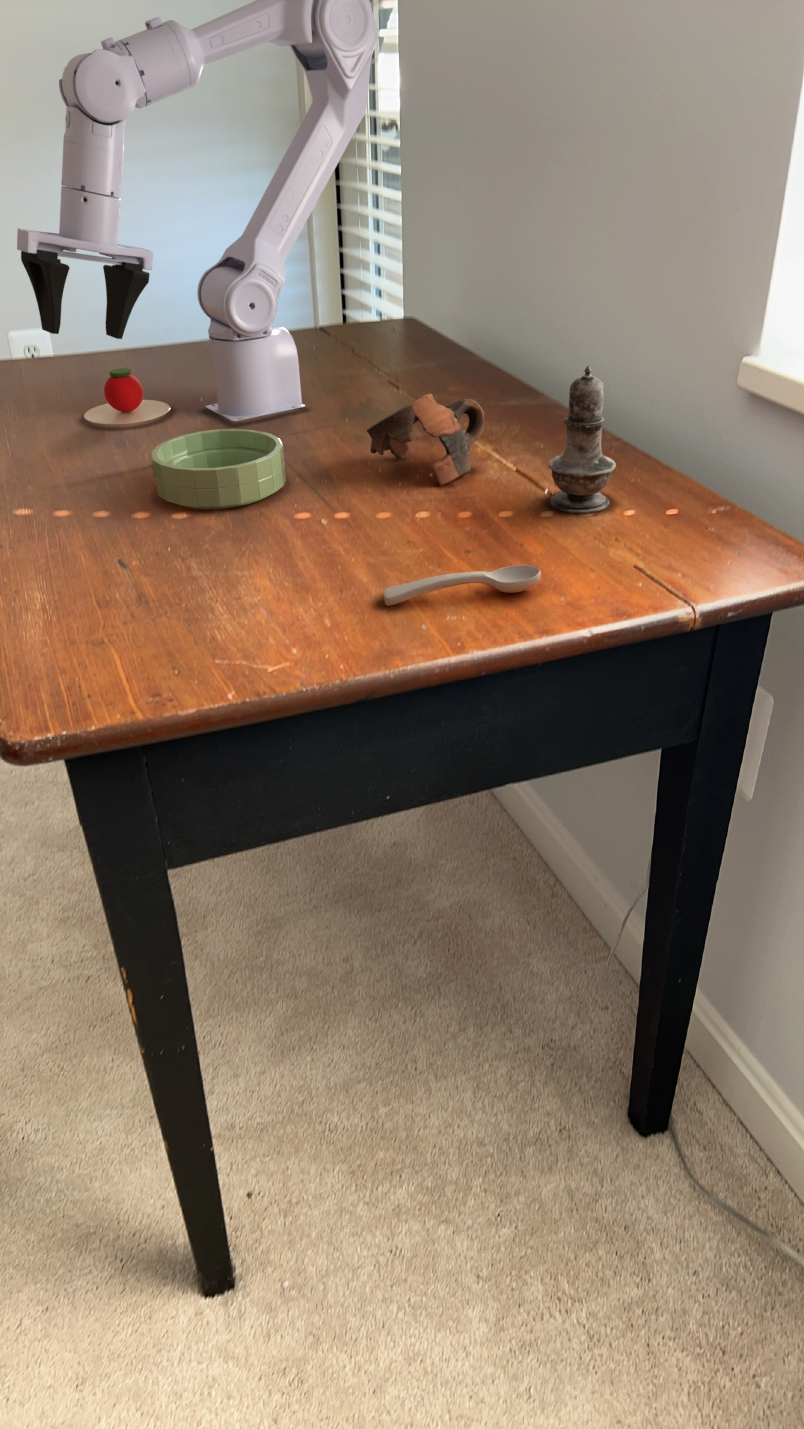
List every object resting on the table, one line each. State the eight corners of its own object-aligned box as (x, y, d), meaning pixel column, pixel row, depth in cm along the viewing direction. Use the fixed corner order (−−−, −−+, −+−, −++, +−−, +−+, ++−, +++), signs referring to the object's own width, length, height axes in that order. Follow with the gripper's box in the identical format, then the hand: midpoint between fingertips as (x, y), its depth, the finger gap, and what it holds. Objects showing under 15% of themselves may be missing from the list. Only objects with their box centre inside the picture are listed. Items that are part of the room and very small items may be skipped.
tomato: (137, 403, 122) (131, 364, 119) (152, 411, 118) (145, 371, 116) (102, 410, 120) (95, 370, 117) (116, 418, 116) (108, 377, 114)
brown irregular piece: (423, 500, 94) (380, 419, 92) (384, 514, 103) (344, 440, 101) (519, 442, 98) (480, 363, 96) (474, 460, 106) (437, 388, 104)
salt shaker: (540, 492, 93) (546, 359, 87) (603, 489, 94) (613, 355, 87) (554, 516, 88) (561, 376, 82) (620, 512, 89) (632, 372, 82)
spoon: (546, 593, 75) (545, 569, 74) (388, 619, 74) (385, 595, 73) (535, 577, 78) (534, 553, 77) (383, 602, 77) (380, 578, 76)
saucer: (151, 399, 125) (150, 394, 125) (184, 417, 118) (183, 412, 118) (72, 414, 121) (71, 409, 120) (102, 434, 114) (101, 429, 113)
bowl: (250, 459, 104) (246, 421, 102) (309, 492, 96) (305, 450, 93) (138, 485, 99) (131, 445, 97) (189, 522, 90) (183, 479, 88)
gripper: (129, 198, 108) (119, 331, 114) (2, 173, 98) (-2, 320, 104) (169, 208, 105) (157, 345, 110) (41, 183, 94) (35, 335, 100)
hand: (83, 334), depth 107 cm, fingers open, 7 cm apart
